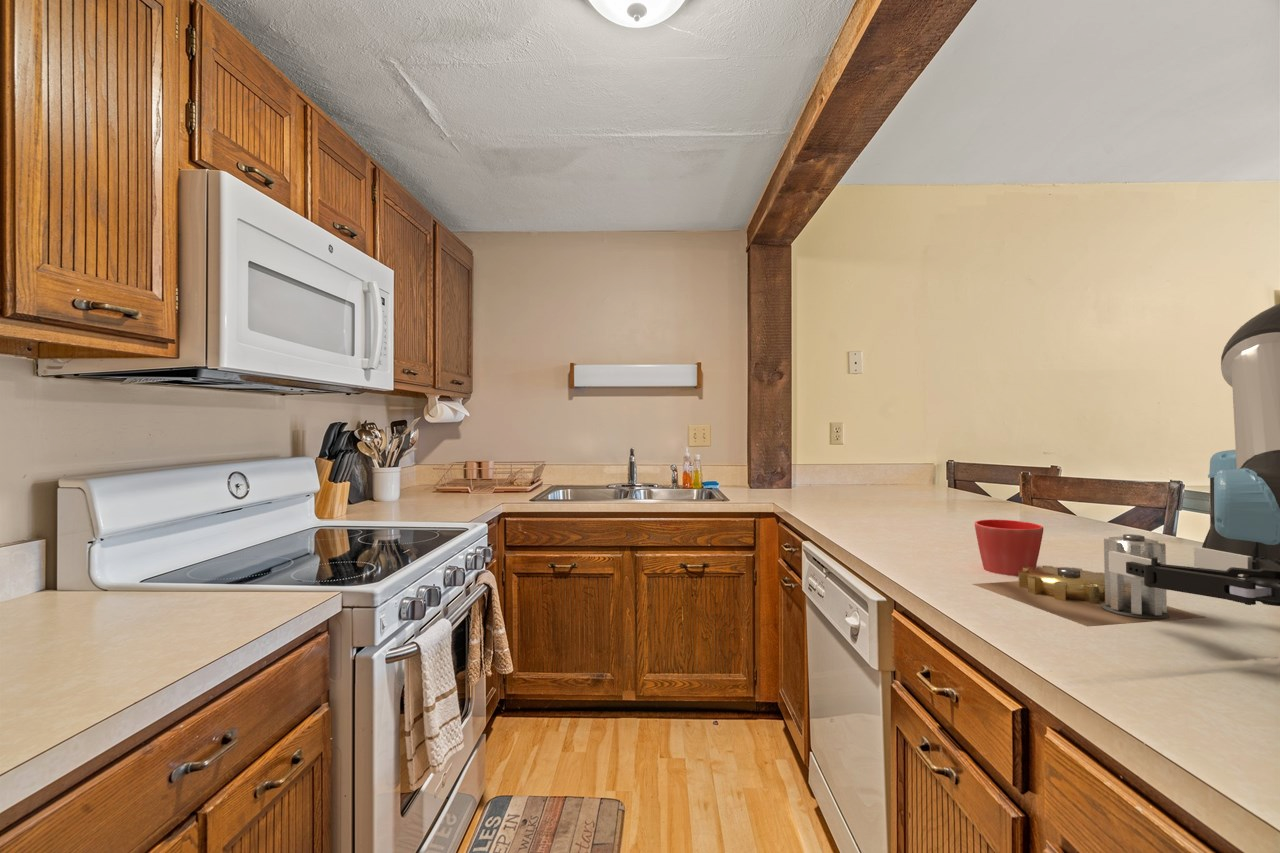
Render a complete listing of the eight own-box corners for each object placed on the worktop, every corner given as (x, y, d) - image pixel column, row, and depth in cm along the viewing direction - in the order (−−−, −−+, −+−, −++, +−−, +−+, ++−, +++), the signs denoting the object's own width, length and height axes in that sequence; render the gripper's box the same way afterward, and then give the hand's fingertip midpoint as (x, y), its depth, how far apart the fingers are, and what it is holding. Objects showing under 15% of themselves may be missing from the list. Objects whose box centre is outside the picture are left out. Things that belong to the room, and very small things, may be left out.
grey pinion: (1133, 600, 90) (1131, 530, 90) (1179, 615, 83) (1178, 539, 83) (1093, 603, 89) (1091, 532, 89) (1137, 618, 82) (1135, 541, 82)
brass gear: (1070, 578, 105) (1069, 558, 105) (1146, 600, 91) (1146, 577, 91) (999, 582, 103) (999, 562, 103) (1067, 605, 89) (1067, 582, 89)
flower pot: (1049, 586, 104) (1048, 530, 104) (977, 579, 108) (976, 526, 108) (1039, 572, 113) (1038, 521, 113) (973, 567, 118) (972, 518, 118)
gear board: (1069, 583, 105) (1069, 576, 105) (1206, 624, 83) (1206, 614, 83) (972, 589, 102) (972, 582, 102) (1087, 633, 80) (1087, 623, 80)
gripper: (1257, 647, 60) (1074, 590, 81) (1456, 632, 63) (1231, 581, 84) (1256, 572, 60) (1073, 535, 81) (1455, 561, 63) (1230, 528, 84)
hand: (1153, 558), depth 82 cm, fingers open, 13 cm apart
